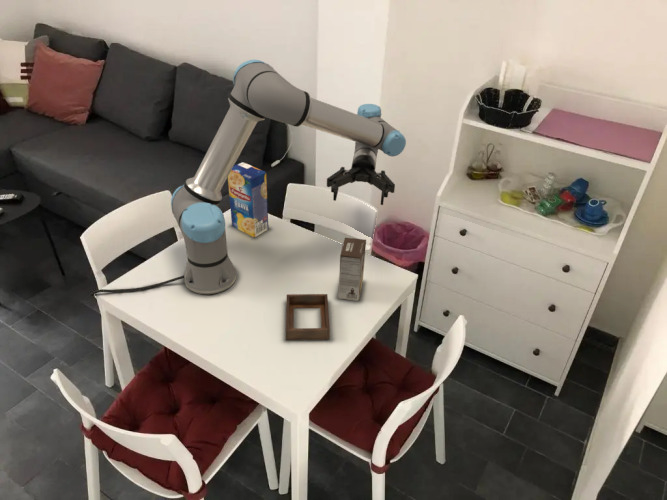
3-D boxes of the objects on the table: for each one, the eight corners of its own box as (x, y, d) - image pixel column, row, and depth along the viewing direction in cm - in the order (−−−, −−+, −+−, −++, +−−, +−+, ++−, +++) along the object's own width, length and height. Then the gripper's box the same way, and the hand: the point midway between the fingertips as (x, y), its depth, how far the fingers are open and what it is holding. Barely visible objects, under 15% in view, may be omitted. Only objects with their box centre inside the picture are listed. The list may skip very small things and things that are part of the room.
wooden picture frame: (286, 340, 144) (285, 330, 142) (286, 303, 156) (286, 294, 154) (329, 339, 145) (329, 329, 143) (327, 303, 157) (327, 293, 155)
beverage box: (246, 218, 192) (242, 161, 179) (268, 229, 187) (266, 172, 174) (231, 226, 188) (226, 168, 175) (254, 237, 182) (251, 179, 169)
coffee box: (342, 279, 166) (344, 236, 156) (363, 282, 165) (366, 238, 156) (337, 298, 158) (339, 254, 149) (359, 301, 158) (363, 257, 148)
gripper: (401, 179, 173) (400, 213, 156) (324, 172, 175) (314, 205, 158) (404, 157, 168) (403, 191, 151) (325, 151, 170) (315, 183, 153)
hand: (358, 198), depth 154 cm, fingers open, 13 cm apart
